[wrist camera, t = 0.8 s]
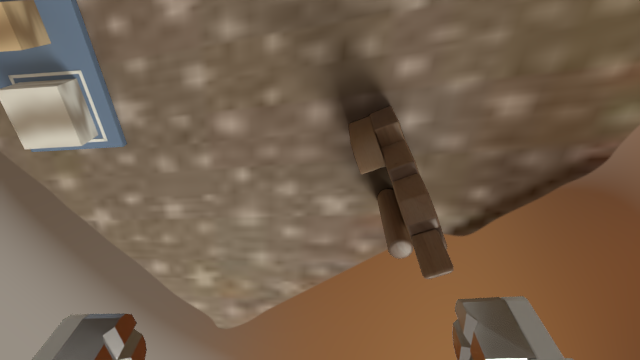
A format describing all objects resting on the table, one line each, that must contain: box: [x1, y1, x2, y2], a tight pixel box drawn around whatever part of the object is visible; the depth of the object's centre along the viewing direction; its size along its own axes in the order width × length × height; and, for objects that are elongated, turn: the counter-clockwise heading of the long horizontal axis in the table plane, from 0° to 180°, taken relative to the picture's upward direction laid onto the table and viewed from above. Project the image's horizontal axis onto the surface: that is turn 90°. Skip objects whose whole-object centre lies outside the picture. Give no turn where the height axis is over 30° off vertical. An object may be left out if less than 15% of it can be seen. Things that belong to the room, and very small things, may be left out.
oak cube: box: [0, 0, 51, 52], centre depth 43 cm, size 5×5×5 cm
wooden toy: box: [349, 106, 453, 279], centre depth 43 cm, size 15×7×25 cm, turn 23°
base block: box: [0, 79, 98, 149], centre depth 49 cm, size 8×8×4 cm
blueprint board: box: [0, 0, 127, 152], centre depth 48 cm, size 22×14×1 cm, turn 4°
